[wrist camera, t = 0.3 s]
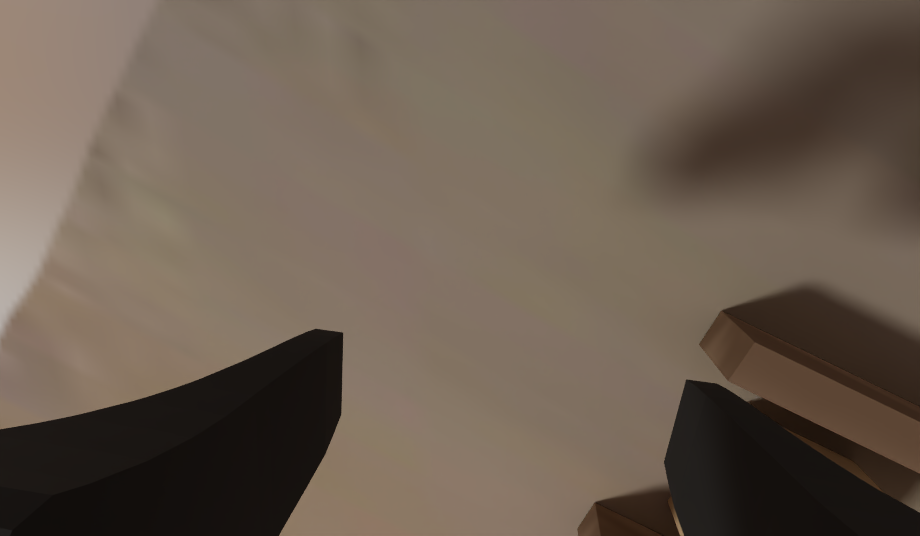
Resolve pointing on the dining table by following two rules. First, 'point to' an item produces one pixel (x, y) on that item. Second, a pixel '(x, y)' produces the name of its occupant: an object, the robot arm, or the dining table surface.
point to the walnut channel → (795, 402)
